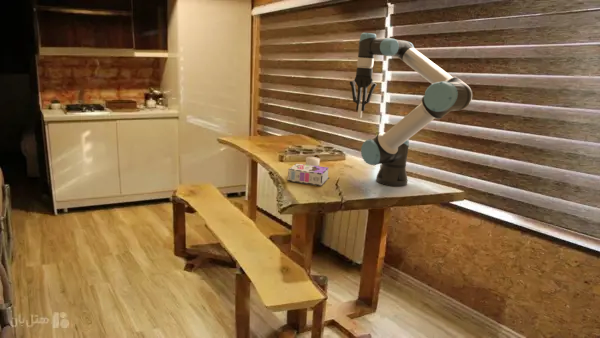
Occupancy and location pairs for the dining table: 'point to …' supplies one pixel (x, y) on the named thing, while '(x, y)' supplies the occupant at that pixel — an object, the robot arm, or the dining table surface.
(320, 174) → the candy box
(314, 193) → the dining table surface
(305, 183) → the mat
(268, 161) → the dining table surface
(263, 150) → the dining table surface
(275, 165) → the dining table surface
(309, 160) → the cream capsule shape
